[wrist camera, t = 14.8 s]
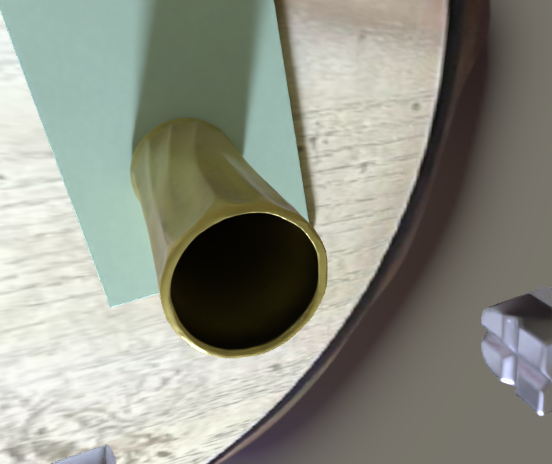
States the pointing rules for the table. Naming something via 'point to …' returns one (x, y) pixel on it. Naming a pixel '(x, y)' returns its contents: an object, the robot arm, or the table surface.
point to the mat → (150, 104)
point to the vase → (224, 243)
